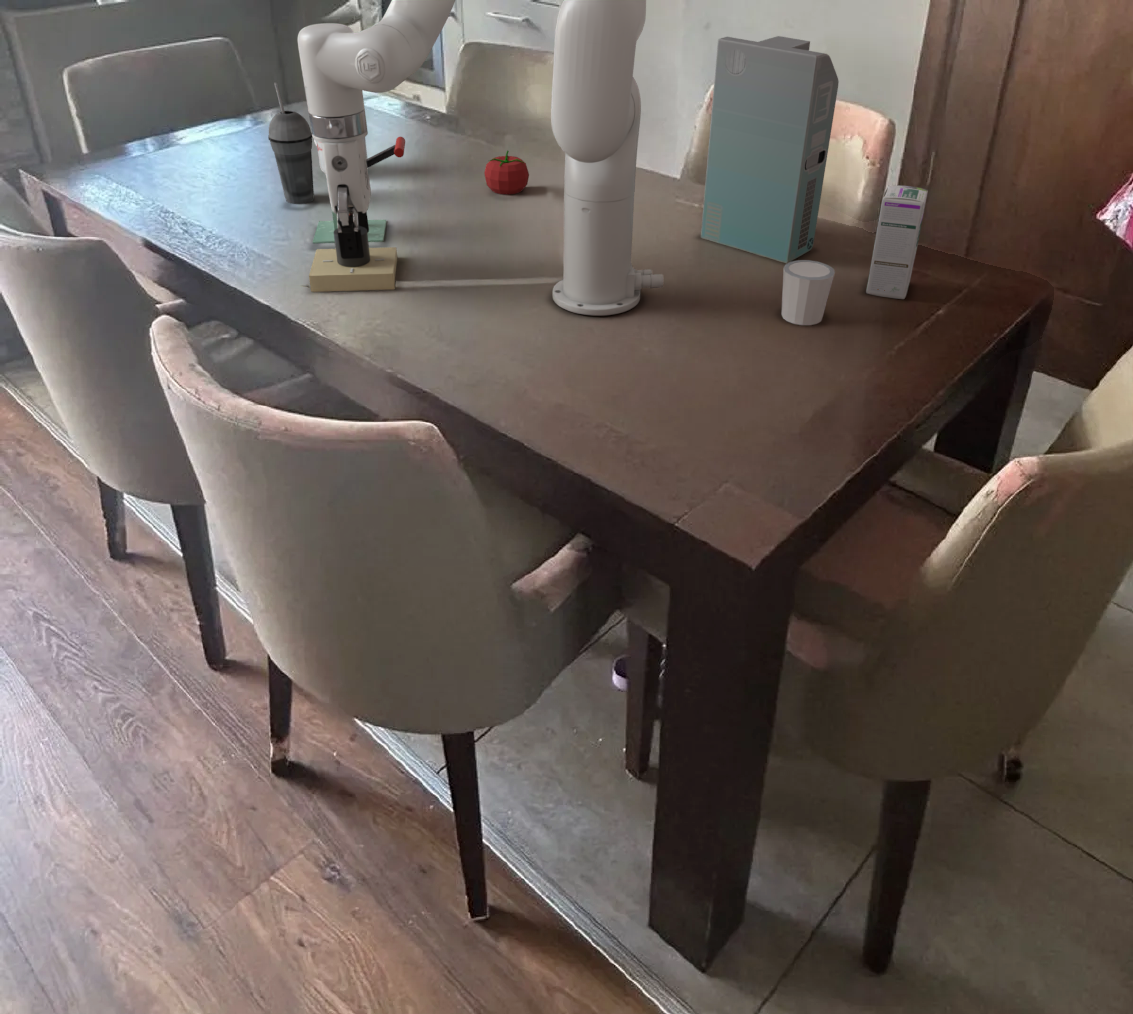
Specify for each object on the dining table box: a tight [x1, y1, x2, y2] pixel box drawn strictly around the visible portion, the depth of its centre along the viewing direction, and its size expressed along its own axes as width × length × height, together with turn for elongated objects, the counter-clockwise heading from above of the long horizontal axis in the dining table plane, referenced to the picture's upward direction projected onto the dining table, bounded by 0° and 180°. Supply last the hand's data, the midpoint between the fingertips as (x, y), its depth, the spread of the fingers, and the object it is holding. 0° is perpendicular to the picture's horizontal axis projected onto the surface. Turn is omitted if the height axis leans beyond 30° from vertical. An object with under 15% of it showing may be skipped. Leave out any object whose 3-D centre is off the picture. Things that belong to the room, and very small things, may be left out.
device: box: [700, 35, 840, 264], centre depth 155 cm, size 16×8×30 cm, turn 49°
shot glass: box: [780, 259, 836, 326], centre depth 140 cm, size 7×7×7 cm
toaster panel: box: [308, 246, 398, 293], centre depth 151 cm, size 12×10×3 cm
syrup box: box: [865, 184, 929, 300], centre depth 145 cm, size 6×6×14 cm
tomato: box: [483, 150, 530, 195], centre depth 179 cm, size 8×8×8 cm
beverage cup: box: [268, 82, 315, 205], centre depth 170 cm, size 7×7×20 cm
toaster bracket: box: [312, 207, 387, 244], centre depth 161 cm, size 11×9×12 cm
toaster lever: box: [366, 136, 406, 169], centre depth 157 cm, size 12×6×2 cm, turn 94°
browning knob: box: [334, 226, 370, 267], centre depth 148 cm, size 5×5×5 cm
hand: (355, 244), depth 148 cm, fingers open, 9 cm apart
